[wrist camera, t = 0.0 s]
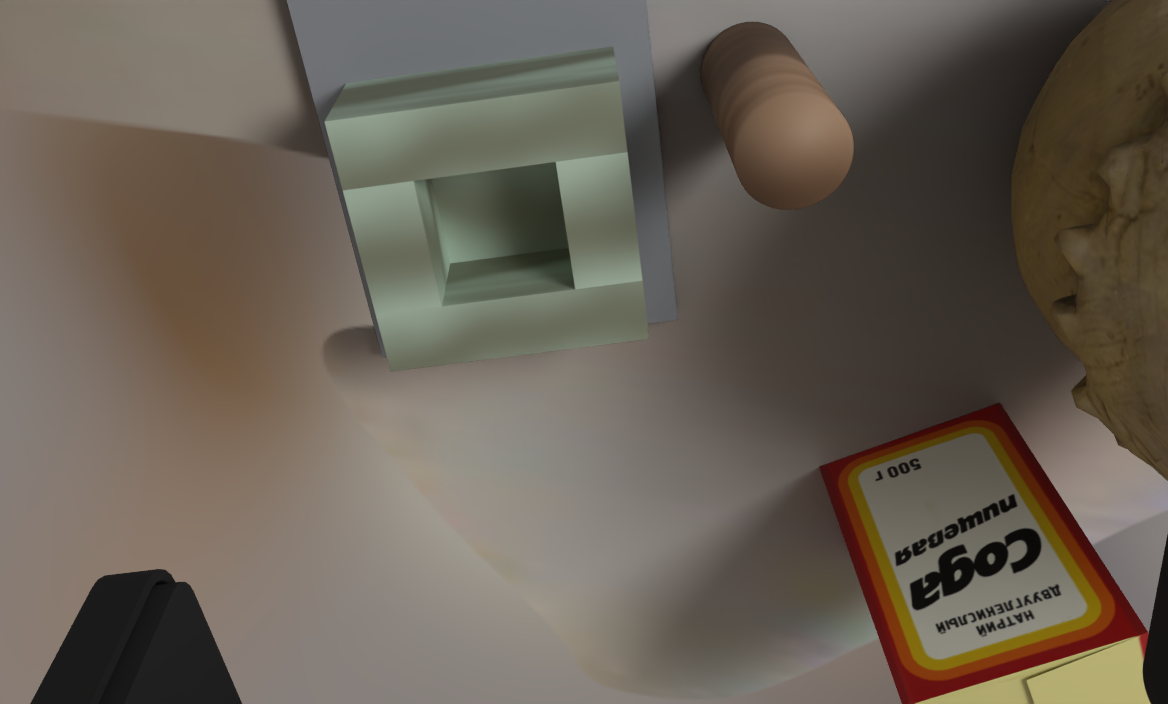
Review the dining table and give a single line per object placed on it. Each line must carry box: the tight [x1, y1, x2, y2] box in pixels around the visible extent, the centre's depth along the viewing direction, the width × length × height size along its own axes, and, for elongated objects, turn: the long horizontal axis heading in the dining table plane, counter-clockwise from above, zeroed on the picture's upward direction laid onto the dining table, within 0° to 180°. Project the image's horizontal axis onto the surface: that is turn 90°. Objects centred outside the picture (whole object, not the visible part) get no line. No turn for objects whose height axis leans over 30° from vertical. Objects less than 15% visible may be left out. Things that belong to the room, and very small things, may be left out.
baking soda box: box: [819, 403, 1151, 704], centre depth 49 cm, size 10×6×16 cm
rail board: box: [287, 0, 678, 357], centre depth 42 cm, size 26×14×5 cm, turn 8°
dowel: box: [701, 22, 854, 210], centre depth 40 cm, size 4×4×10 cm
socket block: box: [325, 46, 649, 371], centre depth 44 cm, size 11×11×5 cm
